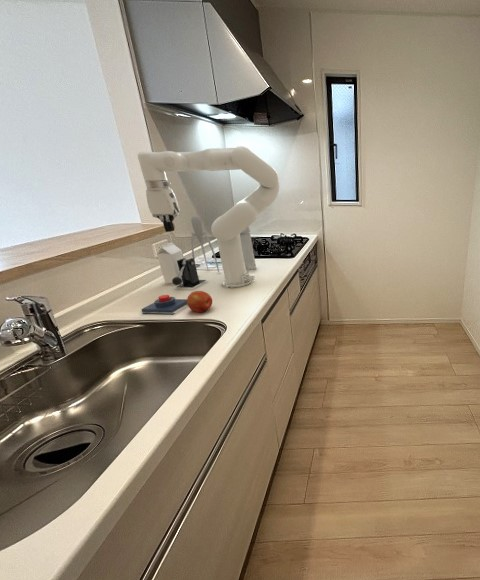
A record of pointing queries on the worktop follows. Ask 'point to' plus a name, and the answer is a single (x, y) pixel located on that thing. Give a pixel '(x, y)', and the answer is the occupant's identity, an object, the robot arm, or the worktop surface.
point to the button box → (165, 306)
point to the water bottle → (247, 249)
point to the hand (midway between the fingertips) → (170, 231)
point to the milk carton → (169, 261)
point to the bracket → (189, 274)
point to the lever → (180, 274)
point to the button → (164, 298)
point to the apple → (199, 301)
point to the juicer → (200, 237)
